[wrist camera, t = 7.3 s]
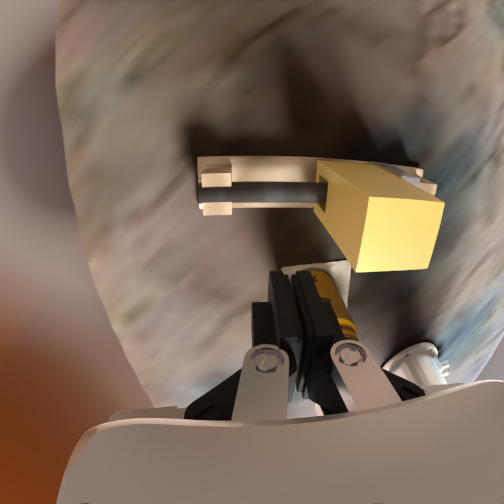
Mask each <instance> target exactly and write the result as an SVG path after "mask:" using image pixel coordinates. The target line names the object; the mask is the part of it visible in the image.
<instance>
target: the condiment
mask: <svg viewBox="0 0 504 504" xmlns="http://www.w3.org/2000/svg"><path fill="white" fill-rule="evenodd" d="M281 271H283V273H284V274H288V276H289V280H290V281H291V275H292V274H296V271H310V272H311V275H312V277H313V280H314V282H315V285H316V287H317V290H318V293H319V295H320V298H321V300H329V301H330V302H331V304H332V307H333V309H334V312H335V314H336V316H337V319H338V321H339V324H340V326H341V329H342V331H343V334H344V336H345V339H346V340H354V341H357V342H359V340H358V337H357V334H358V333H357V328H356V325H355V323H354V321H353V319H352V317H351V315H350V313H349V310H348V309H347V301H348V292H349V283H350V281H349V280H350V275H351V265H350V263H349V262H348V260H345V261H337V262H328V263H315V264H306V265H296V266H287V267H283V268H281ZM331 274H333V276H332V275H331ZM334 276H336V278H335V277H334Z"/></svg>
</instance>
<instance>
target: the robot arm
mask: <svg viewBox="0 0 504 504" xmlns="http://www.w3.org/2000/svg"><path fill="white" fill-rule="evenodd" d="M437 356H438V351H437V349H436V347H435V346H434V345H433V344H432V343H428V342H426V343H418V344H415V345H412V346H410V347H408V348H406V349H404V350H403V351H401V352H399V353H398V354H396V355H395V356H394V357H393V358H391V359H390V360H389V361H388V362H387V363H386V364H385V365H384V367H383V368H381V367H380V366H379V364H378V363H377V361H376V360H375V358H374V357H373V355H372V354H371V352H370V351H369V349H368V348H367V347H366V346H365V345H363V344H362V343H360V342H357V341H354V340H346V339H345V336H344V334H343V331H342V329H341V326H340V324H339V321H338V319H337V316H336V314H335V312H334V309H333V307H332V304H331V302H330V301H329V300H321V298H320V295H319V293H318V290H317V287H316V285H315V282H314V280H313V277H312V275H311V272H310V271H296V274H292V275H291V281H290V280H289V276H288V274H284V273H283V271H269V286H268V302H252V348H251V349H250V350H249V351H248V352H247V353H246V355H245V357H244V361H243V366H242V368H241V369H240V370H239V371H237V372H236V373H234V374H233V375H232V376H230V377H229V378H227V379H226V380H225V381H223V382H222V383H220V384H219V385H217V386H216V387H215V388H213V389H212V390H210V391H209V392H207V393H206V394H204V395H203V396H201V397H200V398H198V399H197V400H195V401H194V402H192V403H191V404H190V405H189V406H188V407H187V408H179V409H178V407H177V406H172V407H161V408H150V409H133V410H122V411H118V412H116V413H115V414H113V415H112V416H111V418H110V419H109V422H108V423H104V424H101V425H98V426H96V427H94V428H92V429H90V430H89V431H87V432H86V433H85V434H84V435H83V436H82V437H81V439H80V440H79V442H78V443H77V445H76V447H75V449H74V451H73V453H72V455H71V457H70V460H69V462H68V465H67V468H66V470H65V473H64V477H63V480H62V484H61V487H60V491H59V495H58V499H57V504H504V381H501V380H482V381H476V382H471V383H467V384H462V383H457V384H447V382H446V380H445V379H444V377H443V376H446V375H448V374H449V368H448V367H449V365H450V363H449V361H448V360H447V361H443V362H441V363H440V362H439V360H438V359H437ZM295 383H296V389H297V392H302V396H303V399H310V400H311V401H313V402H315V409H316V412H317V414H318V416H316V417H306V418H295V419H286V415H287V404H288V403H289V402H290V401H291V400H292V396H293V392H294V388H295Z"/></svg>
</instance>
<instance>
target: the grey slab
mask: <svg viewBox="0 0 504 504" xmlns="http://www.w3.org/2000/svg"><path fill="white" fill-rule="evenodd" d="M371 165H376V166H378V167H380V168H382V169H384V170H386V171H388V172H390V173H392V174H394V175H396V176H398V177H400V178H402V179H404V180H406V181H408V182H409V183H411V184H413V185H415V186H417V187H419V183H420V178H418V177H416V176H414V175H412V174H410V173H408V172H406V171H404V170H402V169H400V168H397V167H395V166H393V165H391V164H388V163H383V162H374V161H371Z"/></svg>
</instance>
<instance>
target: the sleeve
mask: <svg viewBox="0 0 504 504" xmlns="http://www.w3.org/2000/svg"><path fill="white" fill-rule="evenodd" d="M316 182H317V183H328V191H327V201H326V203H314V209H313V211H314V212H315V214H316V215H317V217H318V218H319V219H320V221H321V222H322V224H323V225H324V227H325V228H326V229H327V231H328V232H329V234H330V235H331V237H332V238H333V240H334V241H335V242H336V244H337V245H338V247H339V248H340V250H341V251H342V253H343V254H344V256H345V257H346V259H347V260H348V262H349V263H350V265H351V266H352V268H353V269H354V271H355V273H357V272H378V271H397V270H415V269H427V268H428V265H429V262H430V259H431V256H432V252H433V249H434V245H435V242H436V238H437V234H438V230H439V226H440V222H441V218H442V214H443V209H444V205H445V202H443V201H441V200H440V199H438V198H436V197H435V196H433V195H431V194H429V193H428V192H426V191H424V190H422V189H420V188H419V187H417V186H415V185H413V184H411V183H409V182H408V181H406V180H404V179H402V178H400V177H398V176H396V175H394V174H392V173H390V172H388V171H386V170H384V169H382V168H380V167H378V166H376V165H371V164H361V163H349V162H336V161H321V160H317V172H316Z"/></svg>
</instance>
